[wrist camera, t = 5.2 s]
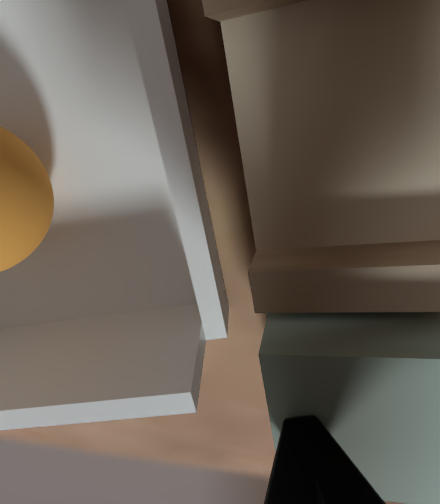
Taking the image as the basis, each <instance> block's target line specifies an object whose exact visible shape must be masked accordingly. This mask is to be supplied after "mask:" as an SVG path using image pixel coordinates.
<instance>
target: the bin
mask: <svg viewBox="0 0 440 504" xmlns="http://www.w3.org/2000/svg"><path fill="white" fill-rule="evenodd" d="M0 127H2V128H5V129H6V130H8V131H9V132H11V133H13V134H14V135H16V136H17V137H18V138H19V139H21V140H22V141H23V142H25V143H26V144H27V145H28V146H29V147H30V148H31V149H32V150H33V152H34V153H35V154H36V155H37V157H38V158H39V159H40V161H41V162H42V164H43V166H44V167H45V169H46V171H47V173H48V176H49V178H50V181H51V184H52V189H53V195H54V210H53V217H52V221H51V224H50V227H49V229H48V231H47V234H46V235H45V237H44V239H43V240H42V242H41V243H40V244H39V246H38V247H37V248H36V249H35V250H34V251H33V252H32V253H31V254H30V255H29V256H28V257H27V258H25V259H24V260H22V261H21V262H20V263H18V264H16V265H14V266H13V267H11V268H9V269H6V270H4V271H1V272H0V430H9V429H20V428H31V427H42V426H53V425H64V424H75V423H86V422H97V421H108V420H119V419H130V418H141V417H152V416H164V415H175V414H186V413H196V412H197V405H198V397H199V390H200V382H201V375H202V367H203V360H204V352H205V345H206V340H211V339H219V338H227V333H228V315H229V305H228V301H227V296H226V291H225V286H224V281H223V276H222V271H221V266H220V261H219V256H218V251H217V246H216V241H215V237H214V232H213V227H212V222H211V217H210V212H209V207H208V202H207V197H206V192H205V187H204V182H203V177H202V173H201V168H200V163H199V158H198V153H197V148H196V143H195V138H194V133H193V128H192V123H191V118H190V113H189V109H188V104H187V99H186V94H185V89H184V84H183V79H182V74H181V69H180V64H179V59H178V54H177V49H176V44H175V40H174V35H173V30H172V25H171V20H170V15H169V10H168V5H167V0H0Z"/></svg>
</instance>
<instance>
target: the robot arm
mask: <svg viewBox="0 0 440 504" xmlns="http://www.w3.org/2000/svg"><path fill="white" fill-rule="evenodd" d="M264 504H386V503H385V502H384V501H383V499H382V498H381V497H380V496H379V494H378V493H377V492H376V491H375V489H374V488H373V487H372V485H371V484H370V483H369V482H368V480H367V479H366V478H365V477H364V475H363V474H362V473H361V472H360V470H359V469H358V468H357V466H356V465H355V464H354V463H353V461H352V460H351V459H350V458H349V456H348V455H347V454H346V453H345V451H344V450H343V449H342V448H341V446H340V445H339V444H338V442H337V441H336V440H335V439H334V437H333V436H332V435H331V434H330V432H329V431H328V430H327V429H326V427H325V426H324V425H323V423H322V422H321V421H320V420H319V418H318V417H317V416H315V415H305V416H297V417H289V418H285V419H284V421H283V423H282V428H281V432H280V436H279V441H278V445H277V449H276V454H275V458H274V462H273V466H272V471H271V475H270V479H269V484H268V488H267V492H266V497H265V501H264Z"/></svg>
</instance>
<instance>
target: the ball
mask: <svg viewBox="0 0 440 504" xmlns="http://www.w3.org/2000/svg"><path fill="white" fill-rule="evenodd" d="M53 210H54V195H53V189H52V184H51V181H50V178H49V176H48V173H47V171H46V169H45V167H44V166H43V164H42V162H41V161H40V159H39V158H38V157H37V155H36V154H35V153H34V152H33V150H32V149H31V148H30V147H29V146H28V145H27V144H26V143H25V142H23V141H22V140H21V139H19V138H18V137H17V136H16V135H14V134H13V133H11V132H9V131H8V130H6V129H5V128H2V127H0V272H1V271H4V270H6V269H9V268H11V267H13V266H14V265H16V264H18V263H20V262H21V261H22V260H24V259H25V258H27V257H28V256H29V255H30V254H31V253H32V252H33V251H34V250H35V249H36V248H37V247H38V246H39V244H40V243H41V242H42V240H43V239H44V237H45V235H46V234H47V231H48V229H49V227H50V224H51V221H52V217H53Z"/></svg>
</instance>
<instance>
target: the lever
mask: <svg viewBox="0 0 440 504" xmlns="http://www.w3.org/2000/svg"><path fill="white" fill-rule="evenodd" d="M202 4H203V10H204V16H205V17H208V18H211V19H214V20H216V21H219V22H220V23H221V29H222V35H223V42H224V48H225V55H226V61H227V67H228V74H229V80H230V87H231V93H232V100H233V106H234V112H235V119H236V125H237V132H238V138H239V144H240V151H241V157H242V164H243V170H244V177H245V183H246V189H247V196H248V202H249V209H250V215H251V222H252V228H253V234H254V241H255V247H256V252H255V255H254V257H253V260H252V263H251V266H250V268H249V271H248V275H249V281H250V286H251V292H252V298H253V304H254V310H255V313H266V318H267V320H266V324H265V328H264V333H263V337H262V341H261V346H260V350H259V359H260V365H261V371H262V377H263V382H264V388H265V394H266V399H267V405H268V411H269V417H270V422H271V428H272V434H273V439H274V445H275V451H276V449H277V445H278V441H279V436H280V432H281V428H282V423H283V421H284V419H285V418H289V417H297V416H305V415H315V416H317V417H318V418H319V420H320V421H321V422H322V423H323V425H324V426H325V427H326V429H327V430H328V431H329V432H330V434H331V435H332V436H333V437H334V439H335V440H336V441H337V442H338V444H339V445H340V446H341V448H342V449H343V450H344V451H345V453H346V454H347V455H348V456H349V458H350V459H351V460H352V461H353V463H354V464H355V465H356V466H357V468H358V469H359V470H360V472H361V473H362V474H363V475H364V477H365V478H366V479H367V480H368V482H369V483H370V484H371V485H372V487H373V488H374V489H375V491H376V492H377V493H378V494H379V496H380V497H381V498H382V499H383V501H390V502H398V503H405V504H440V0H202Z"/></svg>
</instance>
